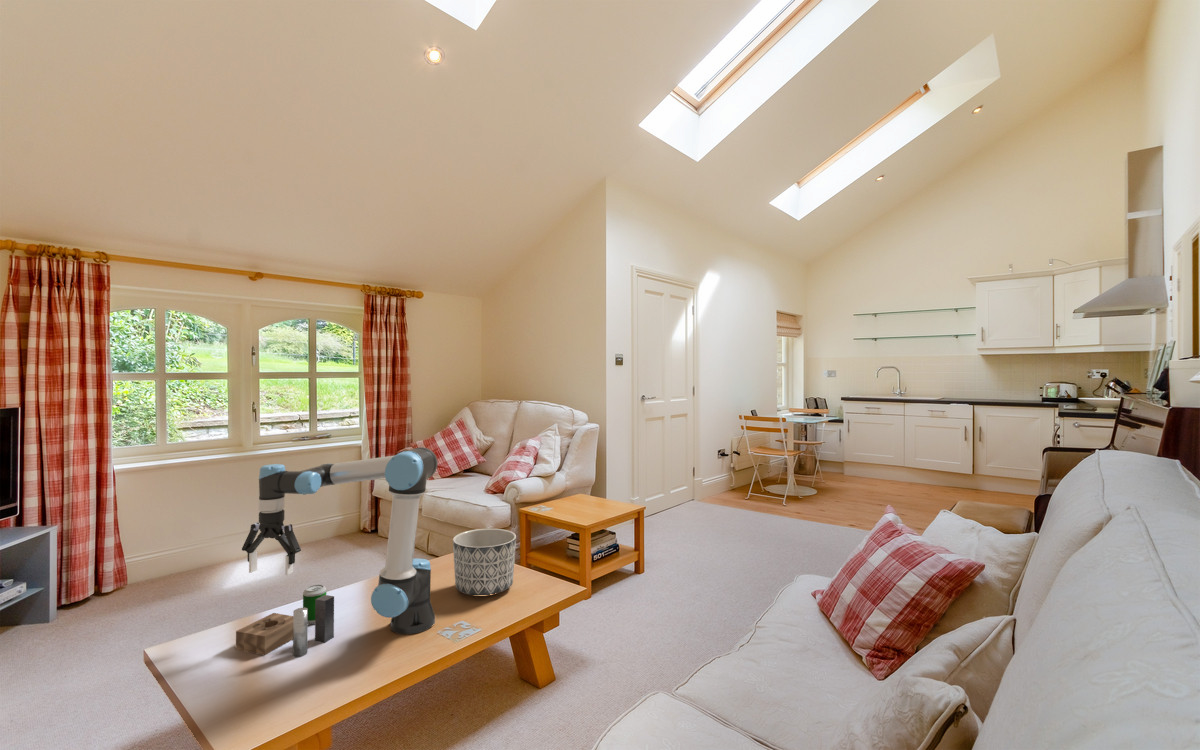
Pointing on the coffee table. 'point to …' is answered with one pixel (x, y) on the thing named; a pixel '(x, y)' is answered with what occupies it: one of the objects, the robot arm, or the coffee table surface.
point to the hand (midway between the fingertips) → (271, 572)
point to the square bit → (324, 618)
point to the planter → (484, 561)
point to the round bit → (300, 632)
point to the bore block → (265, 634)
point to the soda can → (312, 600)
